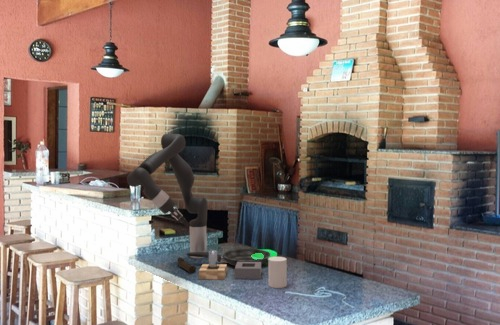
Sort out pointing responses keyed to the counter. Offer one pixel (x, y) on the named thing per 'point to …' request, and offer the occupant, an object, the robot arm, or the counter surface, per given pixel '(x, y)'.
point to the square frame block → (213, 272)
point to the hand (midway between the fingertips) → (187, 225)
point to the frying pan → (236, 256)
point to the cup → (277, 272)
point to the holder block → (248, 270)
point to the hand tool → (186, 265)
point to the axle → (213, 259)
